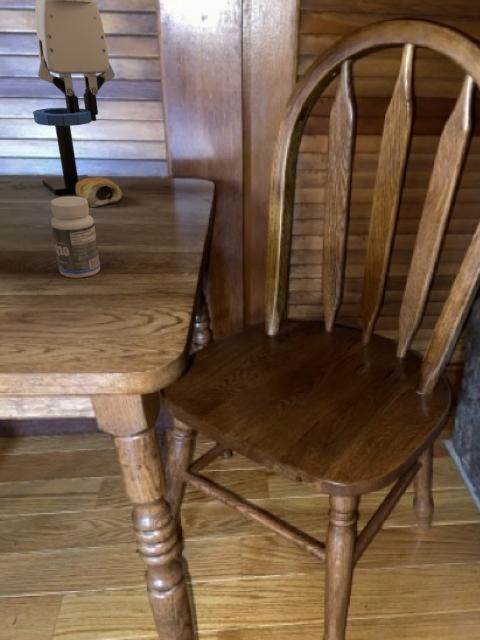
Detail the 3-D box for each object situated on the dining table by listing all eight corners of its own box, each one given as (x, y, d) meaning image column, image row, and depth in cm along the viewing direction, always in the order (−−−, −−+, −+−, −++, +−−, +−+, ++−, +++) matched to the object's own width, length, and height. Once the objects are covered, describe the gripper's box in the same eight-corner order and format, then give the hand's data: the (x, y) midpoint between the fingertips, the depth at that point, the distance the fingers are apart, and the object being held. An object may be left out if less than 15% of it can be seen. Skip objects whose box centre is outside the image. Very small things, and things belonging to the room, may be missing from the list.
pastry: (67, 195, 96) (63, 171, 94) (105, 190, 100) (103, 168, 98) (87, 208, 90) (84, 184, 88) (128, 203, 93) (125, 179, 91)
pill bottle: (53, 269, 68) (39, 198, 64) (90, 261, 71) (80, 192, 67) (69, 282, 65) (56, 208, 61) (107, 272, 68) (98, 202, 64)
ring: (43, 127, 90) (41, 116, 89) (29, 119, 96) (27, 109, 95) (98, 124, 94) (97, 113, 93) (81, 116, 100) (80, 106, 100)
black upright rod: (55, 195, 96) (43, 125, 90) (42, 185, 101) (30, 118, 96) (102, 190, 100) (93, 122, 94) (87, 180, 105) (78, 115, 100)
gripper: (107, -7, 94) (120, 114, 103) (4, -12, 86) (29, 120, 96) (124, -8, 88) (136, 120, 98) (16, -13, 81) (41, 126, 90)
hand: (83, 119), depth 97 cm, fingers closed on ring, 2 cm apart
